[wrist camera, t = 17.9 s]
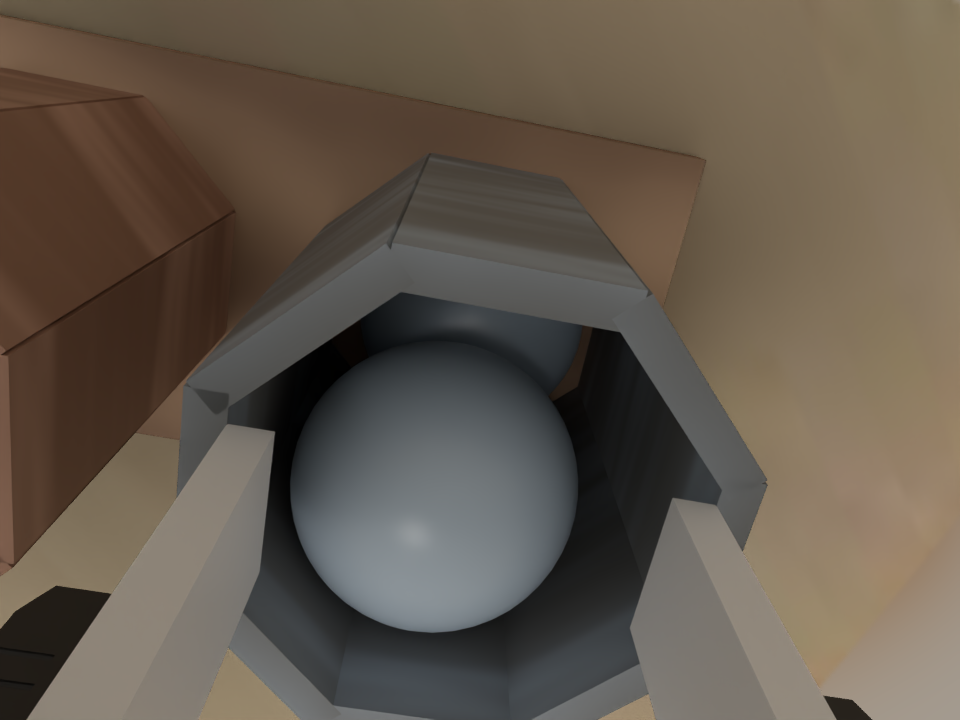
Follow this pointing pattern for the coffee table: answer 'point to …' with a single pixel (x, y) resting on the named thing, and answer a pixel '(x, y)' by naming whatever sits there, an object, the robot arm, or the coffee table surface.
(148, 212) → the twin cylinders
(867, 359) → the coffee table surface
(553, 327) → the slate ball
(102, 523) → the coffee table surface
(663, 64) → the coffee table surface
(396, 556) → the slate ball
